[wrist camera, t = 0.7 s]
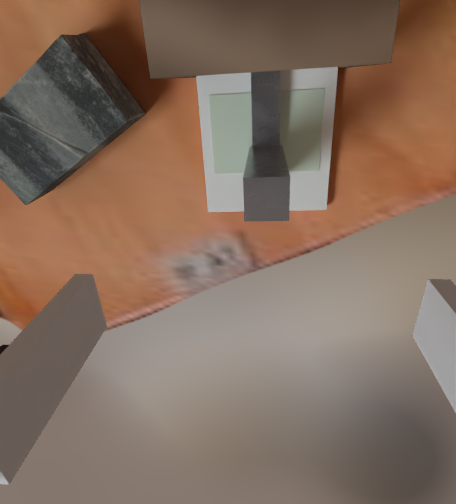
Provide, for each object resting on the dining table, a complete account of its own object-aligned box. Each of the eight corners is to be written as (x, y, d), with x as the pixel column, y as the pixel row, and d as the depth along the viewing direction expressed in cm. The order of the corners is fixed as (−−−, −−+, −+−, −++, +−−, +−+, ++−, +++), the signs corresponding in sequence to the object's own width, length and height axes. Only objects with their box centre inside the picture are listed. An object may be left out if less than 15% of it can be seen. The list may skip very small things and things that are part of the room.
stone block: (-13, 120, 34) (-56, 126, 30) (84, 23, 30) (50, 12, 25) (51, 192, 37) (21, 208, 33) (149, 114, 32) (129, 120, 28)
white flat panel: (178, -156, 24) (174, -166, 23) (355, -181, 22) (359, -193, 21) (209, 208, 36) (208, 212, 35) (324, 206, 35) (326, 210, 34)
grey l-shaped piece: (231, -30, 26) (211, -95, 16) (299, -37, 25) (320, -109, 15) (240, 178, 33) (230, 221, 23) (292, 177, 32) (304, 220, 23)
